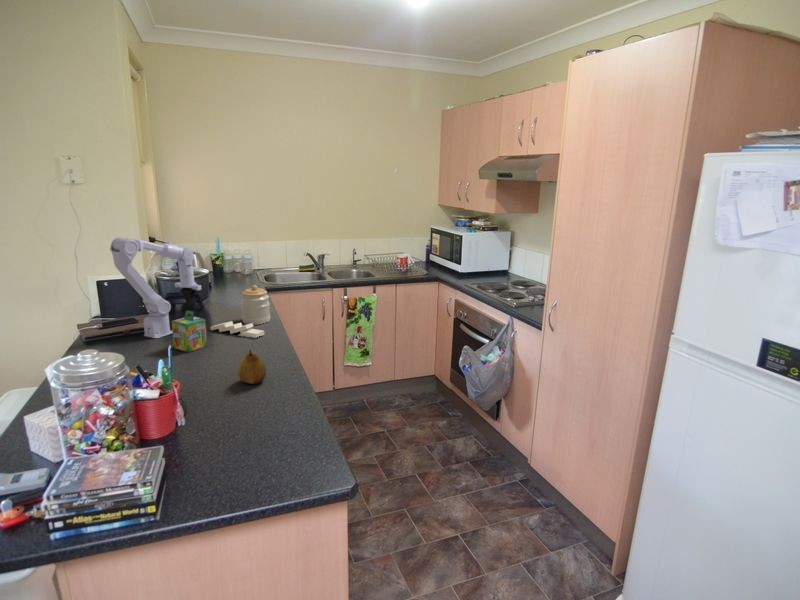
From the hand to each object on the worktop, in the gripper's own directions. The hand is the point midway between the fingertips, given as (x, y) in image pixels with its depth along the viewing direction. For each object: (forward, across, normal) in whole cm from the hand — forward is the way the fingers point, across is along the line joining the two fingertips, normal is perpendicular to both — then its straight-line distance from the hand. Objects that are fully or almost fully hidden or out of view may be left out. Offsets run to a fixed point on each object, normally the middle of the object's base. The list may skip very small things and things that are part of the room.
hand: (190, 304), depth 211 cm
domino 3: (+10, -24, -1) cm, 26 cm away
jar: (+11, -20, -19) cm, 30 cm away
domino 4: (+11, -28, -2) cm, 30 cm away
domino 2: (+10, -18, -1) cm, 20 cm away
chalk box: (+10, -23, +21) cm, 33 cm away
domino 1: (+10, -12, -1) cm, 16 cm away
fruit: (+10, -68, +35) cm, 77 cm away
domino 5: (+9, -30, -2) cm, 31 cm away
